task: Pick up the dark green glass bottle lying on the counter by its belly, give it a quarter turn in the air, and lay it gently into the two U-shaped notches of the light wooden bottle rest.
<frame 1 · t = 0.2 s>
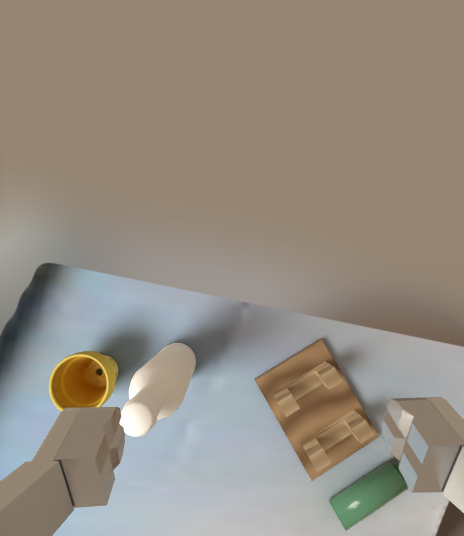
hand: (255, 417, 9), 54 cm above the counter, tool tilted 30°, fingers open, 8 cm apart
bottle 2: (177, 361, 62), on the counter
plant pot: (101, 371, 61), on the counter
bottle: (361, 486, 60), on the counter
bottle rest: (315, 406, 62), on the counter
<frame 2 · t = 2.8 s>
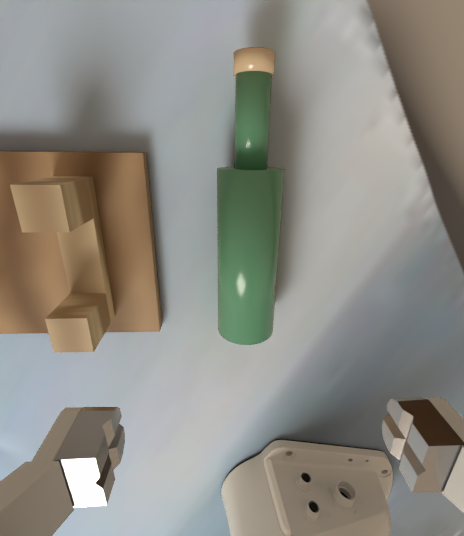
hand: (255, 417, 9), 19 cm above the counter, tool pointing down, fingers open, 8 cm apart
bottle: (233, 248, 27), on the counter, tilted 26°
bottle rest: (28, 248, 26), on the counter
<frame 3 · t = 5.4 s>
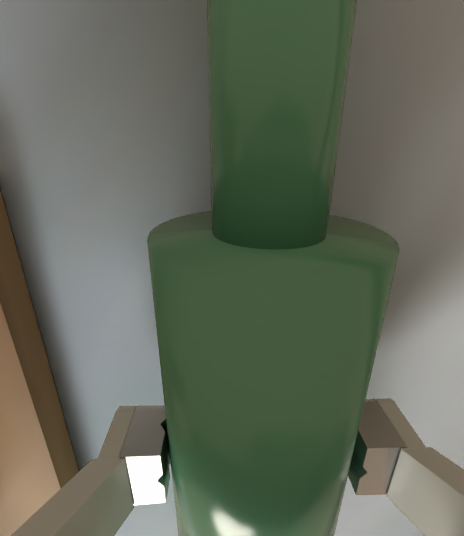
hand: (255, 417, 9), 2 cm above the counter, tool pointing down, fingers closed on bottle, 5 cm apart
bottle: (248, 393, 11), on the counter, touching gripper
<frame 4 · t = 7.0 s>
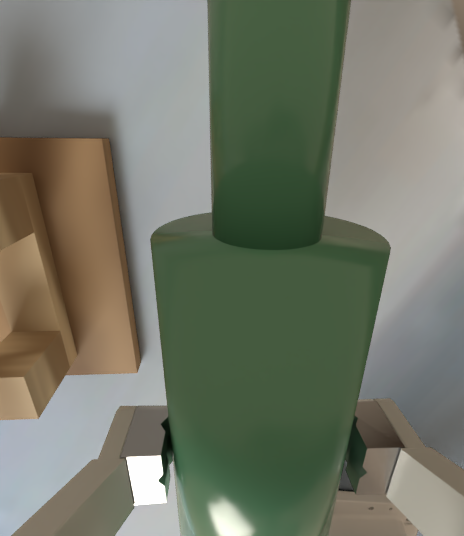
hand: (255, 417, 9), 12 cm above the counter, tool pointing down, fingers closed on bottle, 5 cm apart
bottle: (243, 389, 12), point 10 cm above the counter, touching gripper
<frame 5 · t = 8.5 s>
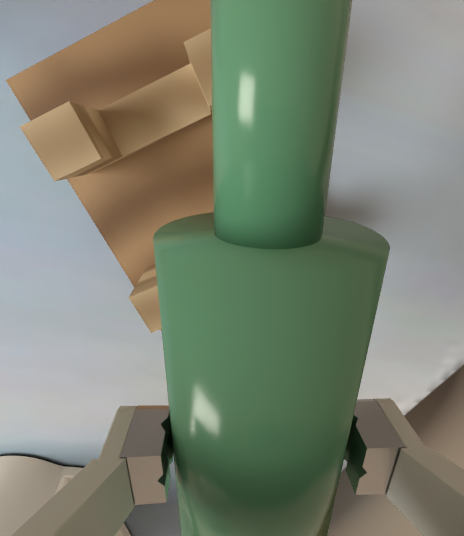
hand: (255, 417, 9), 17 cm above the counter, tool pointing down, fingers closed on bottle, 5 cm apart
bottle: (244, 388, 12), point 15 cm above the counter, touching gripper
bottle rest: (195, 188, 23), on the counter
when the fingers open (5 cm above the counter, at t = 11.3 s): bottle stays where it is, resting on bottle rest.
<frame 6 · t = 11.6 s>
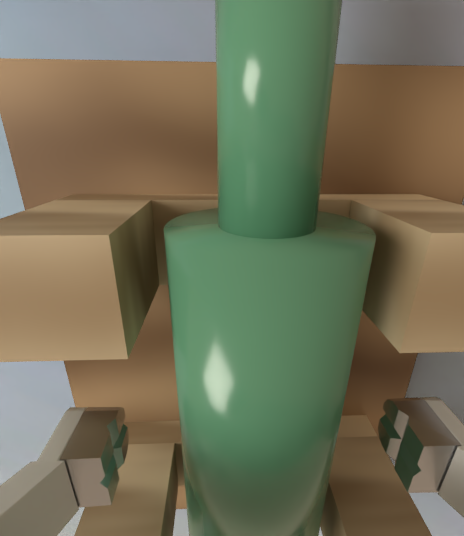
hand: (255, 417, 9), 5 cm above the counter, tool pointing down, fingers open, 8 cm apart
bottle: (240, 376, 12), point 2 cm above the counter, tilted 8°, touching bottle rest
bottle rest: (243, 337, 15), on the counter
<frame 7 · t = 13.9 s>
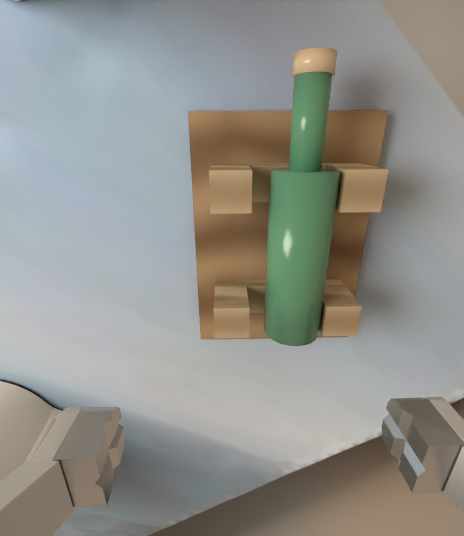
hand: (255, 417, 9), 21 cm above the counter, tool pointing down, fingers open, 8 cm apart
bottle: (280, 249, 27), point 3 cm above the counter, tilted 23°, touching bottle rest
bottle rest: (278, 238, 29), on the counter
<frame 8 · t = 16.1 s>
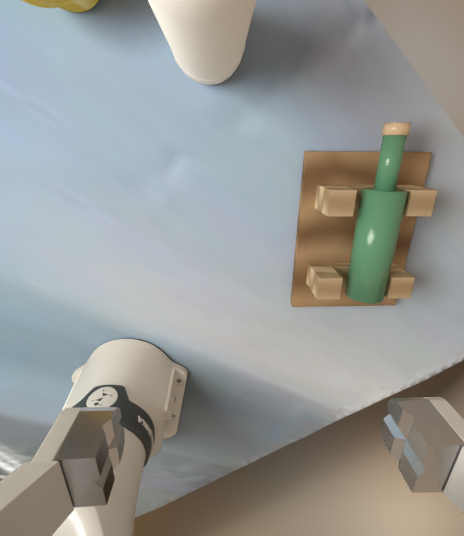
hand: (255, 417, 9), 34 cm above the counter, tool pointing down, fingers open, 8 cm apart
bottle 2: (208, 46, 34), on the counter
bottle: (358, 240, 41), point 3 cm above the counter, tilted 23°, touching bottle rest
bottle rest: (352, 234, 43), on the counter
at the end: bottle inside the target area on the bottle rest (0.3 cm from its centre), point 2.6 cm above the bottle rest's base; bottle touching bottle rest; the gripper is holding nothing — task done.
